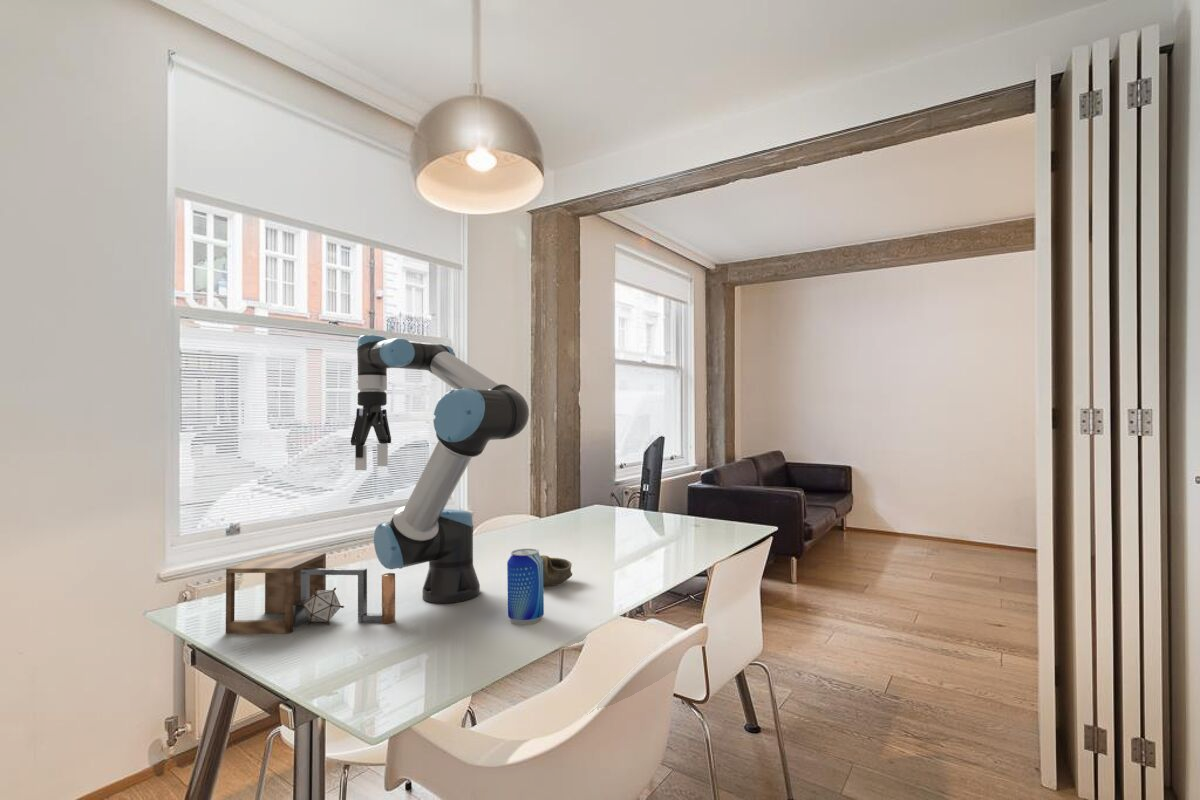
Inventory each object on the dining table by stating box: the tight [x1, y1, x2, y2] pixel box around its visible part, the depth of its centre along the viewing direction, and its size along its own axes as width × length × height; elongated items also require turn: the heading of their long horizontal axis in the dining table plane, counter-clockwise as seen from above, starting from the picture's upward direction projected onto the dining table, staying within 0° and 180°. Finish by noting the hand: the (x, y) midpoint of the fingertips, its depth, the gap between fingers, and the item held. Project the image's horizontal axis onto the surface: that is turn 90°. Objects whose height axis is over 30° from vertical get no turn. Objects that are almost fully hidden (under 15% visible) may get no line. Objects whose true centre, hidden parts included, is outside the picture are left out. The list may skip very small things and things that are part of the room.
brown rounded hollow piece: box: [540, 554, 573, 587], centre depth 166 cm, size 14×18×10 cm
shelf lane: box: [225, 552, 327, 634], centre depth 139 cm, size 15×15×14 cm
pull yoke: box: [293, 567, 396, 628], centre depth 138 cm, size 23×10×12 cm, turn 84°
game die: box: [299, 587, 345, 626], centre depth 137 cm, size 9×8×10 cm
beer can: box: [506, 548, 545, 626], centre depth 137 cm, size 8×8×16 cm
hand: (372, 468), depth 160 cm, fingers open, 13 cm apart
